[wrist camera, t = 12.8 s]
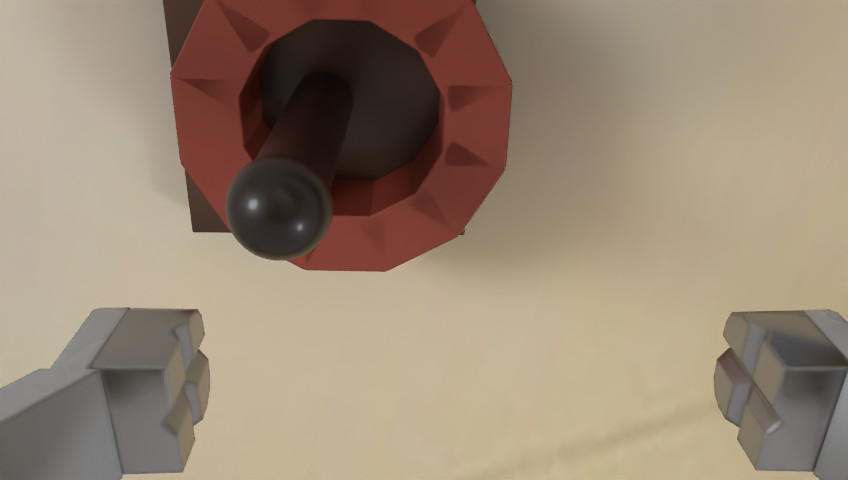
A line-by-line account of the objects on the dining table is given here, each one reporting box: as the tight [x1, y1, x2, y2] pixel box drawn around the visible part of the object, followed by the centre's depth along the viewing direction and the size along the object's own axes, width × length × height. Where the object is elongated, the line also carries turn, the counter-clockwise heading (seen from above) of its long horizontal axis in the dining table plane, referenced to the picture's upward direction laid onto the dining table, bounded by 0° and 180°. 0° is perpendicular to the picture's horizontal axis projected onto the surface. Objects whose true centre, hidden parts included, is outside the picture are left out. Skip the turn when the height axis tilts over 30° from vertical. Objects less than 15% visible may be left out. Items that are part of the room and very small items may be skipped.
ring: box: [170, 0, 512, 272], centre depth 23 cm, size 10×10×3 cm
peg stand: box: [163, 0, 476, 260], centre depth 21 cm, size 10×10×12 cm
